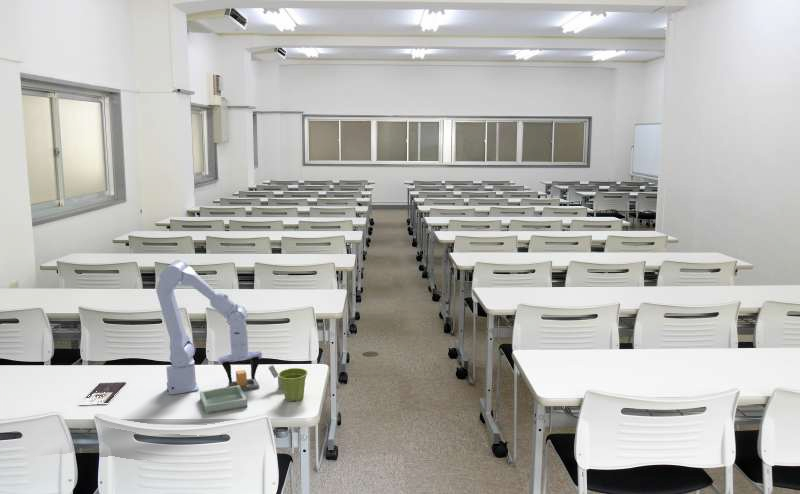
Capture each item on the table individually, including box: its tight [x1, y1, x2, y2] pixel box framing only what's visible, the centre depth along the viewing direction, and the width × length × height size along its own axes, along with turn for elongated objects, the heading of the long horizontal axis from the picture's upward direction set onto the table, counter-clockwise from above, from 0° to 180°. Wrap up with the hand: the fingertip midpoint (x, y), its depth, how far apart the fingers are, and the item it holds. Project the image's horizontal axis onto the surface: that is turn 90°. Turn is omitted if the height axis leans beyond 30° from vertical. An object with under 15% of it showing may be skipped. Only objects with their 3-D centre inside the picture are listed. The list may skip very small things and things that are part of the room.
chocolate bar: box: [85, 381, 127, 404], centre depth 233 cm, size 9×1×18 cm
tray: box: [199, 385, 248, 415], centre depth 224 cm, size 13×13×3 cm
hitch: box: [227, 377, 260, 392], centre depth 237 cm, size 9×7×1 cm
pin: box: [235, 369, 248, 386], centre depth 237 cm, size 3×3×6 cm
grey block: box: [268, 364, 283, 389], centre depth 236 cm, size 7×2×8 cm, turn 93°
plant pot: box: [278, 367, 308, 402], centre depth 226 cm, size 9×9×9 cm
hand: (241, 380), depth 237 cm, fingers open, 7 cm apart
